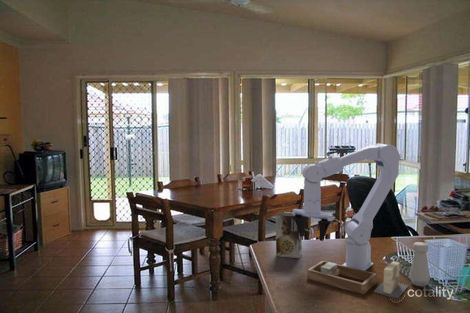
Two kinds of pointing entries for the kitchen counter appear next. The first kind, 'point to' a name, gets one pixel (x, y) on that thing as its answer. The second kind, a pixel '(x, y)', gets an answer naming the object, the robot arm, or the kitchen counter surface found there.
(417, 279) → the salt shaker
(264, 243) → the kitchen counter surface
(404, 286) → the rubber mat
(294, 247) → the coffee box
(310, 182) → the robot arm
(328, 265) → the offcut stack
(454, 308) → the kitchen counter surface
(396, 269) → the cream flat block
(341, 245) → the kitchen counter surface
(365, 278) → the tray
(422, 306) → the kitchen counter surface
